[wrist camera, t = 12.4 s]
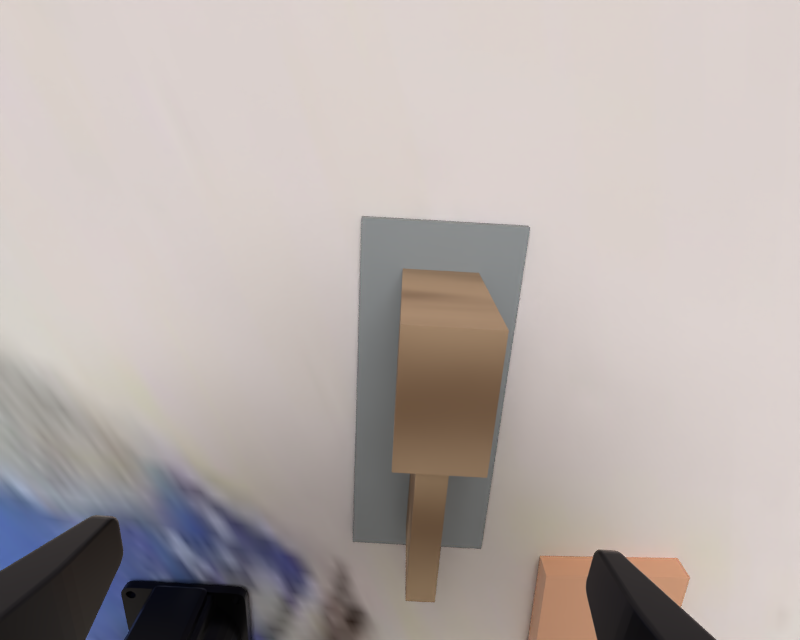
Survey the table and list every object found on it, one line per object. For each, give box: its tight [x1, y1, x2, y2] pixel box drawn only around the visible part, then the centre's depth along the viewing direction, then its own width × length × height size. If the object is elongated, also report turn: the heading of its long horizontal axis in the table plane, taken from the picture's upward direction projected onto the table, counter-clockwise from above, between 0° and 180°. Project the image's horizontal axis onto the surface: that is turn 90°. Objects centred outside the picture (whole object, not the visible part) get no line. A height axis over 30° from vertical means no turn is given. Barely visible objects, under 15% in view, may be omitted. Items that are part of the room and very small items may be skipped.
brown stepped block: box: [392, 268, 509, 602], centre depth 18 cm, size 13×3×6 cm, turn 177°
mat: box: [353, 216, 530, 549], centre depth 21 cm, size 16×6×1 cm, turn 177°
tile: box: [528, 556, 690, 640], centre depth 26 cm, size 2×7×7 cm
